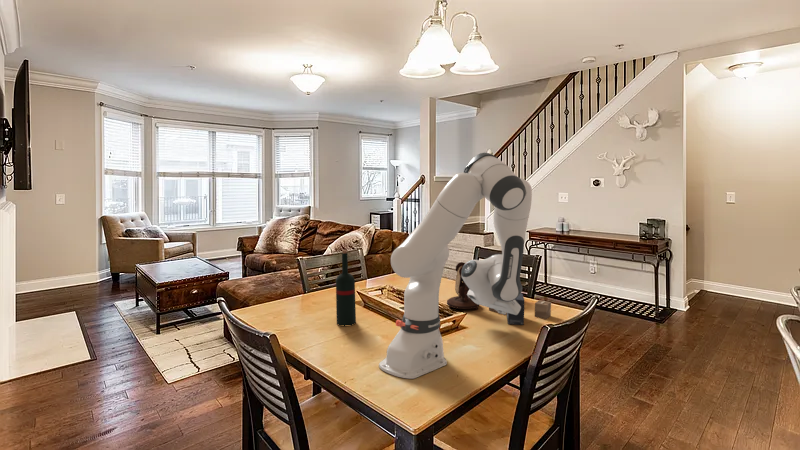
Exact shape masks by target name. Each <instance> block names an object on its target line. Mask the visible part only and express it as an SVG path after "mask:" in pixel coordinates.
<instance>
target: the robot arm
mask: <svg viewBox="0 0 800 450" xmlns="http://www.w3.org/2000/svg"><path fill="white" fill-rule="evenodd" d="M532 192H533V191H532V186H531V184H530V183H529V182H528V180H526V179H524V178H523V177H522V178H521V177H519V176H517V175H516V173H515V172H514V171H513V170H511V168H510V167H509V165H508V164H506V163H505V162H503V161H502V160H501V159H499V158H498V157H497V156H495V155H494V154H492V153H489V152H480V153H479V154H476V155H475V156H474V157H472V159H471V160H469V162H468V163H467V165H466V166H465V167H464V169H463V172H458V173H456V174H454V175H453V176H452V178H451V179H450V180H449V181H448V182H447V183H446V184H445V186H444V187H443V188H442V189H441V191H440V193H439V194H438V195H437V197H436V199H435V200H434V202H433V204H432V206H431V207H430V209H429V210H428V212H427V214H426V215H425V216H424V218H422V220H421V222H419V224H418V225H417V226H416V227H415V228H414V229H413V230H412V232H411V233H410V234H409V235H408V236H407V237H406V239H405V240H403V242H402V243H401V244H399V246H397V247H396V248H395V249H394V250H393V251H392V253H391V255H390V265H391V268H392V270H393V272H394V273H395V274H396V275H397V276H399V277H401V278H406V279H408V278H409V280H408V281H409V282H408V284H407V286H406V287H405V289H404V292H403V296H404V297H403V300H404V301H403V303H404V304H403V306H404V310H403V311H404V314H403V316H402V318H401V320H400V319H396V321H395V326H396V327H400V329H399V331H398V332H397V334H396V335H395V336H394V338H393V339H392V340H391V342H390V343H389V345H388V346H387V350H386V357H385V358H383V360H381V361H380V362H379V363H378V367H379V369H380V370H381V371H383V372H385V373H386V374H390V375H392V376H395V377H398V378H403V379H410V380H411V379H417V378H418V377H421V376H423V375H426V374H428V373H430V372H432V371H435V370H438V369H439V368H443V367H444V366H446V365H447V364H448V363H447V362H448V361H447V359H446V358H445V355H444V354H445V352H444V344H443V343H444V342H443V341H444V340H443V337H442V334H441V331H440V327H441V316H440V314H439V308H440V307H439V299H440V297H439V296H440V287H441V282H442V279H443V273H444V269H445V266H446V262H447V260H448V258H449V256H450V249H449V246H448V244H450V243H451V242H452V241H453V240H454V239H455V238H456V237H457V235H458V233H459V232H460V231H461V230H462V227H463V226H464V225H465V224H466V222H467V220H468V219H469V218H470V215H471V214H472V212H473V211H474V209H475V207H476V205H477V203H478V202H480V201H481V200H483V199H484V198H485V199H486V200H487V201H489V202H490V203H491V205H492V206H493V207H494V209H493V227H494V229H495V233H496V235H497V239H498V242H499V244H500V248H501V253H495V254H492V255H490V256H489V257H487V258H484V259H471V260H467V261H466V262H464V263H465V264H464V266H463V267H462V270H461V276H462V279H463V280H464V282H465V284H466V285H467V286H468V288H469V291H468V293H467V296H468V297H469V298H471V300H472V301H473V302H474V303H476V304H478V305H480V306H483V307H485V308H488V309H489V308H493V309H495V310H496V311H497V312H496V313H498V314H499V315H500V314H501V315H506V316H507V313H510V314H514V315H517V314H518V313H519V311H520V309H521V306H520V305H519V304H518V303H517V302H516V300H515V299H516V298H517V297H518V296H519V295H520V293H522V292H523V285H522V282H521V272H522V265H523V260H524V259H523V257H524V249H525V242H526V241H525V239H526V232H527V227H528V222H529V218H530V213H531V207H532V202H533V201H532V196H533V193H532Z"/></svg>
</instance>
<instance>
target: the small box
mask: <svg viewBox="0 0 800 450" xmlns="http://www.w3.org/2000/svg"><path fill="white" fill-rule="evenodd" d="M515 300H516V302H517V303H518V304H519V305H520V306H521V309H520V311H519V313H518V314H517V315H514V314H510V313H506V320H507V324H508V325H517V326H524V324H525V302H526V301H525V297H524V294H523V293H522V292H521V293H520V295H519V296H518V297H517V298H516V299H515Z"/></svg>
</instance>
